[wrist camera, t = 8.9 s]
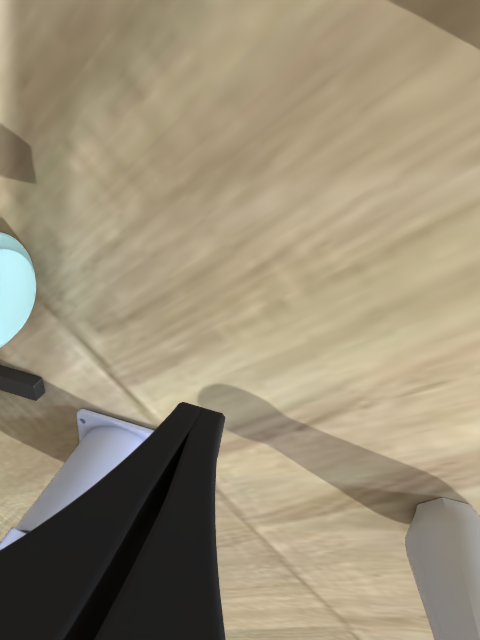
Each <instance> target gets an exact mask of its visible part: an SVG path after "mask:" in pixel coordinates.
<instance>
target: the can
mask: <svg viewBox="0 0 480 640" xmlns="http://www.w3.org/2000/svg"><path fill="white" fill-rule="evenodd" d="M35 295H36V280H35V272H34V268H33V264H32V261H31V259H30V256H29V254H28V253H27V251H26V249H25V248H24V247H23V246H22V244H21V243H20V242H18V241H17V240H16V239H15V238H13V237H11V236H10V235H7V234H5V233H1V232H0V347H2V346H3V345H5V344H6V343H7V342H8V341H9V340H11V339H12V338H13V337H14V336H15V334H17V333H18V331H19V330H20V329H21V328H22V327H23V325H24V324H25V322H26V321H27V319H28V317H29V315H30V313H31V311H32V308H33V305H34V301H35Z"/></svg>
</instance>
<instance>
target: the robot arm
mask: <svg viewBox="0 0 480 640" xmlns="http://www.w3.org/2000/svg"><path fill="white" fill-rule="evenodd" d="M76 416H77V424H78V432H79V440H80V444H79V445H78V446H77V447H76V449H75V450H74V451H73V453H72V454H71V455H70V457H69V458H68V459H67V461H66V462H65V463H64V465H63V466H62V467H61V468H60V470H59V471H58V472H57V474H56V475H55V476H54V478H53V479H52V480H51V482H50V483H49V484H48V486H47V487H46V488H45V489H44V491H43V492H42V493H41V495H40V496H39V497H38V499H37V500H36V501H35V503H34V504H33V505H32V507H31V508H30V509H29V510H28V512H27V513H26V514H25V516H24V517H23V518H22V520H21V521H20V522H19V524H18V525H17V526H16V528H11V529H10V530H9V531H8V533H7V534H6V535H5V537H4V538H3V539H2V541H1V542H0V640H225V632H224V623H223V615H222V606H221V598H220V589H219V577H218V565H217V550H216V529H215V482H216V463H217V457H218V453H219V447H220V442H221V437H222V432H223V427H224V422H225V416H224V415H223V414H222V413H219V412H216V411H212V410H209V409H205V408H202V407H199V406H195V405H192V404H188V403H185V402H182V403H179V404H178V406H177V407H176V408H175V409H174V410H173V411H172V413H171V414H170V415H169V416H168V417H167V418H166V419H165V420H164V421H163V422H162V423H161V424H160V426H159V427H158V428H157V429H156V430H155V431H154V430H151V429H148V428H144V427H141V426H138V425H135V424H131V423H128V422H125V421H122V420H118V419H115V418H112V417H109V416H105V415H102V414H99V413H95V412H92V411H89V410H86V409H80V410H79V411H78V412H77V413H76Z"/></svg>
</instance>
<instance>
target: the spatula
mask: <svg viewBox="0 0 480 640" xmlns="http://www.w3.org/2000/svg"><path fill="white" fill-rule="evenodd" d="M0 390H2V391H6V392H9V393H12V394H15V395H19V396H22V397H25V398H28V399H31V400H35V401H37V400H38V399H39V398H40V397H41V396H42V395H43V394H44V393H45V391H44V386H43V380H42V378H40V377H37V376H34V375H31V374H27V373H24V372H21V371H17V370H14V369H11V368H7V367H4V366H1V365H0Z"/></svg>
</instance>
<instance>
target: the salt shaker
mask: <svg viewBox="0 0 480 640" xmlns="http://www.w3.org/2000/svg"><path fill="white" fill-rule="evenodd" d="M405 546H406V551H407V556H408V559H409V563H410V566H411V569H412V572H413V575H414V578H415V581H416V584H417V587H418V590H419V593H420V596H421V599H422V602H423V605H424V608H425V611H426V614H427V618H428V621H429V624H430V627H431V630H432V633H433V636H434V639H435V640H480V515H479V514H478V513H477V512H476V510H475V509H474V508H473V507H472V506H471V505H469V504H466V503H462V502H458V501H454V500H451V499H447V498H443V497H442V498H439V499H435V500H432V501H428V502H425V503H421V504H418V505H417V508H416V513H415V515H414V518H413V520H412V523H411V525H410V527H409V530H408V532H407V535H406V537H405Z"/></svg>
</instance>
